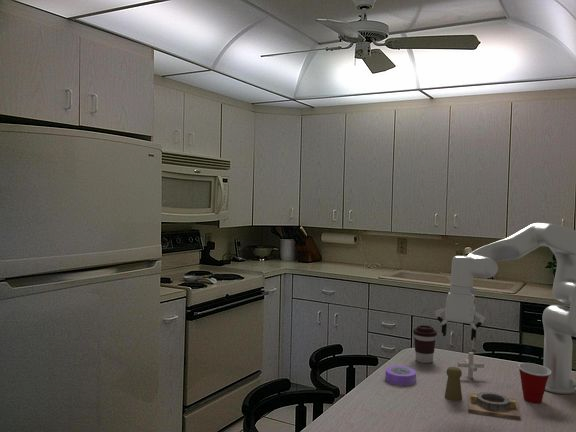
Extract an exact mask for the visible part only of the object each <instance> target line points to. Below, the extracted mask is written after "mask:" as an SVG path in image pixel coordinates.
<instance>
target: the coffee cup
mask: <svg viewBox="0 0 576 432" xmlns="http://www.w3.org/2000/svg"><path fill="white" fill-rule="evenodd" d="M437 334H438V332H437V330H435V328H434V327H433V326H430V325H425V324H424V325H423V324H422V325H418V326H416V327H415V328H413V335H414V337H413V338H414V339H413V340H414V351H415V352H414V353H415V360H416V361H417V362H419V363H422V364H430V363H432V362H433V361H434V353H435V347H436V337H437Z"/></svg>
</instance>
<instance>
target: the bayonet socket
mask: <svg viewBox="0 0 576 432" xmlns="http://www.w3.org/2000/svg"><path fill="white" fill-rule="evenodd" d="M467 408H468V409H467V411H468V413H471V414H478V415H486V416H493V417H499V418H507V419H514V420H521V413H520V410H519V405H518V401H517V398H514V397H507V396H505V395H503V394H500V393H497V392H489V391H485V392H484V391H483V392H479V393H478V392H477V393H475V392H467Z"/></svg>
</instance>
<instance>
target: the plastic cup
mask: <svg viewBox="0 0 576 432" xmlns="http://www.w3.org/2000/svg"><path fill="white" fill-rule="evenodd" d="M517 368H518V370H519V377H520V384H521V390H522V396H523V400H524V402H527V403H531V404H536V405H538V404H541V403H542V401H543V398H544V394H545V391H546V390H545V387H546V383H547V380H548V377H549V375H551V371H550V370H549V369H548V368H546V367H544V366H543V365H540V364H536V363H534V362H533V363H532V362H521V363H518V364H517Z"/></svg>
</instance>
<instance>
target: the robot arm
mask: <svg viewBox="0 0 576 432" xmlns="http://www.w3.org/2000/svg"><path fill="white" fill-rule="evenodd" d="M540 247H548V248H549V249H550V251H551V253H553V255H554V257H555V259H556V269H555V275H554V279H553V285H552V289H551V290H552V291H551V292H552V293H551V295H552V297H553V298H554V299H555V300H557V301H559V302H560V303H564V304H567V305H569V307H567V306H563V305H560V304H559V305H558V304H552V305H549V306H547V307H545V309H544V310H543V313H542V324H543V325H542V326H543V331H544V332H543V333H544V335H543V336H544V339H543V340H544V343H543V345H544V346H543V364H542V366H544V367H546V368H548V369H549V370H550V371H551V375H549V377H548V380H547V383H546V387H545V391H547V392H551V393H554V394H560V395H561V394H563V395H570V394H574V393H575V392H576V379H573V378H572V370H573V369H572V367H573V363H572V362H573V339H572V338H574V337H575V338H576V230H575V229H572V228H569V227H565V226H563V225H559V224H555V223H549V222H535V223H531V224H529V225H528V226H526V227H524V228H522V229H520V230H518V231H517V232H515V233H513V234H511V235H510V236H508V237H506V238H504V239H500V240H497V241H495V242H492V243H489V244H486V245H483V246H481V247H479V248H476V249H475V250H473V251H471V252H470V253H468V254H467V255H455V256H453V258H452V259H451V272H450V273H451V274H450V287H449V288H450V289H449V290H450V291H449V292H448V293H447V297H446V301H445V307H444V308H440V309H438V310H435V311H434V314H435V317H436V318H437V321H438V322H439V323H440V325H441V334H442V336H443V337H445V336H447V327H448V325H447V323H448V321H450V322H453V323H454V322H455V323H463V324H469V325H470V326H471V327H472V328H471V332H470V333H471V335H470V341H474V339H476V338H477V329H478V328H479V327H481V326H482V324H484V322H485V320H486V317H485V316H483V315H482V314H480V313H479V312H477V311H476V297H475V295H474V294H475V293H477V292H478V291H477V288H474V285H473V284H474V277H475V278H476V277H477V278H478V277H479V278H483V279H490V278H492V277H494V276H495V275H496V274H497V273H498V271H499V267H498V264H497V262H501V261H502V262H505V261H512V260H519V259H520V258H523V257H524V256H526V255H527V254H529V253H531V252H533V251H535V250H536V249H538V248H540ZM442 313H444V319H443V317H442V316H441V314H442ZM475 317H476V318H477V319H479V321H478V322H477V323H476V322H475V319H476V318H475Z"/></svg>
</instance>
